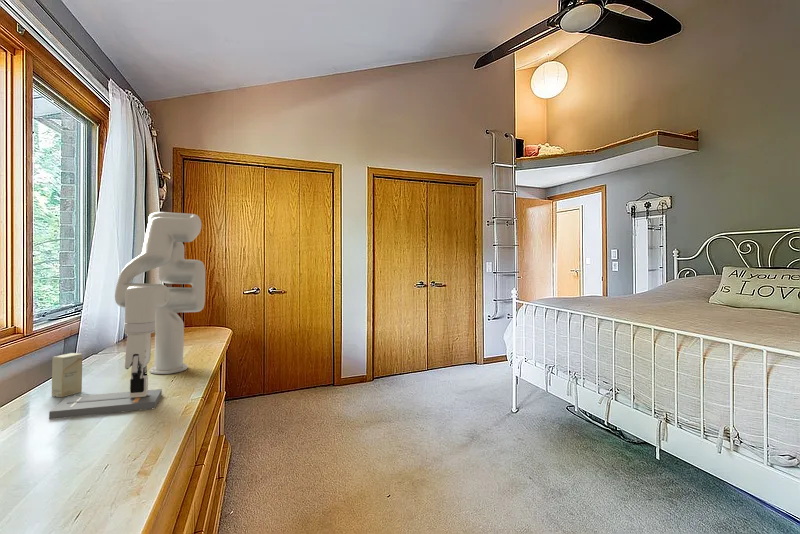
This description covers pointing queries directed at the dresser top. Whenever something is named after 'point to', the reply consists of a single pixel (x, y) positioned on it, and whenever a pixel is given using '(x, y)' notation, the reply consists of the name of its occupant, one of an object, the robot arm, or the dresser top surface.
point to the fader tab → (141, 394)
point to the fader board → (104, 404)
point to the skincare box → (66, 374)
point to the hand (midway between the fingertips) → (138, 389)
